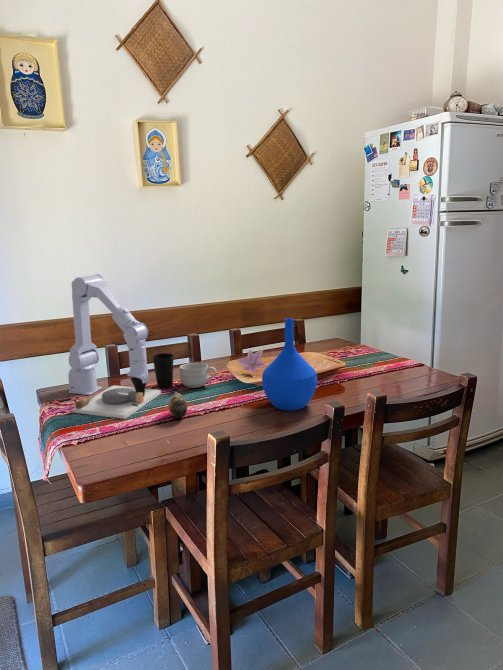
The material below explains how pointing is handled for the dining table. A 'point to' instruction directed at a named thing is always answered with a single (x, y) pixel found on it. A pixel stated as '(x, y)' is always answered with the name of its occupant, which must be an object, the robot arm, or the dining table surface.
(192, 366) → the teacup
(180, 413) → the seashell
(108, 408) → the board
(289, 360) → the vase
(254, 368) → the lily
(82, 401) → the screwdriver
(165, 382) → the cup
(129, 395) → the grey handled disc
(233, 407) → the dining table surface
